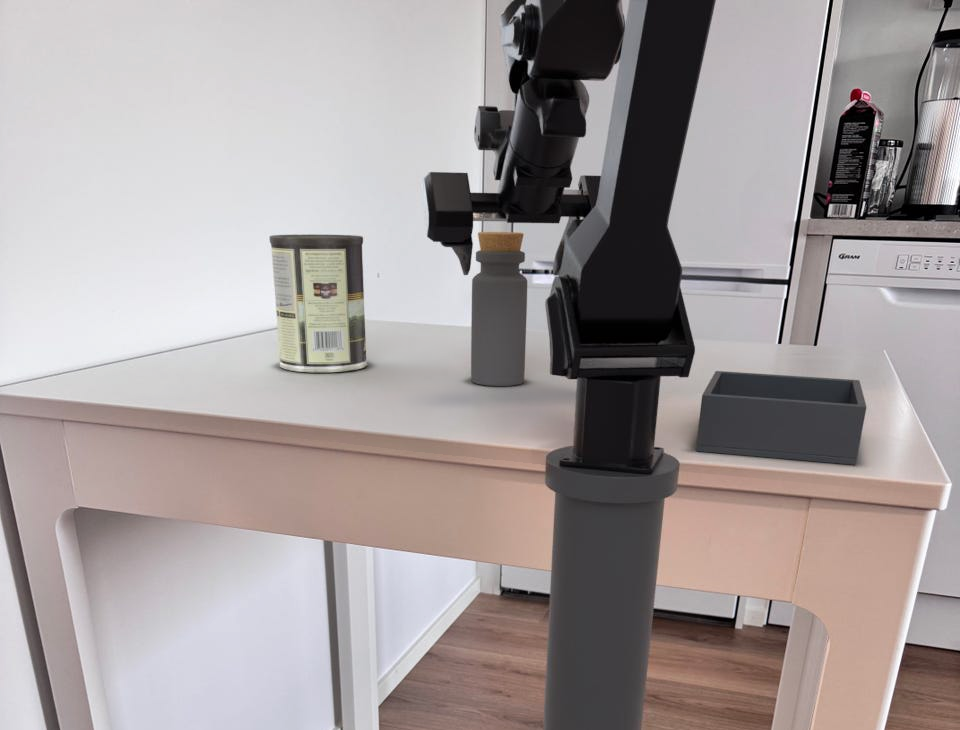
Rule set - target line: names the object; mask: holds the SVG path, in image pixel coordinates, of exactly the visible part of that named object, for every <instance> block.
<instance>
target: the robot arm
mask: <svg viewBox="0 0 960 730" xmlns="http://www.w3.org/2000/svg"><path fill="white" fill-rule="evenodd" d="M716 1H717V0H629V1H628V7H627V12H626V18H625V15H624V9H623V0H512V1H511V2H510V3H509V4H508V6H507V7H505V10H504V11H503V12H502V14H501V16H500V19H499V33H500V38H501V39H500V47H502V51H503V56H504V63H505V67H506V72H507V73H506V74H507V79H508V83H509V87H510V90H511V92H512V93H513V94H517V98H516V104H515V108H514V110H507V109H503V110H502V109H501V110H499V108H498V107H497V106H495V105H494V106H493V105H491V106H490V105H478V106H477V109H476V116H475V120H474V129H473V136H474V137H473V139H474V142H475V145H476V148H477V150H478V151H492V152H493V153H494V154H495V158H494V164H493V167H492V168H493V169H492V170H493V177H494V181H499V184H498V188H497V192H471V186H470V181H469V173H468V172H449V171H448V172H445V171H444V172H443V171H439V172H438V171H428V172H427V174H426V175H425V176H424V177H423V178H422V185H421V200H422V207H423V216H424V222H425V230H426V231H425V232H426V237H427V238H428V239H429V240H431V241H432V242H434V243H440V245H441V246H442V247H444V248H451V249H452V251H453V252H454V254H455V255H456V257H457V258H458V261H459V265H460V267H461V270H462V271H461V272H462V274H463V276H468V275H469V273H470V271H471V265H472V255H473V247H474V246H473V245H474V243H473V236H472V235H473V230H474V222H506V223H507V224H560V223H561V219H562V218H565V217H566V218H567V219H568V220H567V223H566V226H565V228H564V231H563V233H562V236H561V238H560V241H559V244H558V247H557V249H556V252H555V255H554V258H553V263H552V271H553V272H552V273H553V276H555V277H554V279H553V281H552V283H551V286H550V287H551V288H550V292H549V295H548V297H547V298H546V299H545V302H544V303H545V304H544V307H545V313H546V322H547V330H548V338H549V357H550V360H549V361H550V362H549V374H550V375H551V376H558V377H564V378H566V379H568V380H576V391H575V404H574V405H575V406H574V423H573V424H574V425H573V440H572V445H571V446H572V447H571V448H570V449H569V450H568V451H567V452H566V453H565V454H564V455H563V456H562V457H561V458H560V459H559V466H562V467H571V468H581V469H592V470H602V471H613V472H623V473H634V474H645V475H648V474H652V473H653V471H654V470H655V468H656V466H657V464H658V463H659V461H660V459H661V458H662V456H663V452H664V450H665V449H664V447H659V446H655V443H656V431H657V430H656V429H657V422H658V421H657V420H658V410H659V409H658V408H659V398H660V387H661V379H662V378H661V377H678V378H689V376H690V372H691V369H692V365H693V362H694V357H695V354H696V353H695V352H696V345H695V342H694V338H693V334H692V329H691V326H690V321H689V317H688V312H687V308H686V304H685V301H684V296H683V292H682V288H681V281H682V276H683V267H682V264H681V261H680V259H679V255H678V253H677V249H676V247H675V244H674V242H673V238H672V236H671V232H670V230H669V219H670V214H671V210H672V205H673V201H674V196H675V190H676V185H677V182H678V177H679V172H680V168H681V164H682V159H683V154H684V150H685V144H686V140H687V136H688V130H689V126H690V122H691V117H692V112H693V107H694V104H695V99H696V94H697V89H698V84H699V79H700V75H701V71H702V67H703V63H704V62H703V61H704V57H705V52H706V48H707V44H708V43H707V42H708V38H709V34H710V29H711V24H712V19H713V16H714V10H715V5H716ZM617 64H618V68H617V75H616V80H615V87H614V92H613V93H614V94H613V100H612V106H611V112H610V117H609V124H608V131H607V137H606V142H605V148H604V156H603V161H602V167H601V173H600V175H585V174H584V175H580V176H579V180H578V182H577V187H578V189H569V188H571V185H572V181H573V174H572V173H573V172H572V169H571V167H572V164H573V160H574V157H575V155H576V154H575V153H576V150H577V147H578V143H579V140H580V138H585V137H586V135H587V119H586V116H587V112H588V109H589V106H590V105H589V104H590V95H589V92H588V89H587V86H586V85H585V84H584V82H582V81H591V82H592V81H593V82H599V81H601V82H604V81H606V79H607V78H608V77H609V76H610V75H611V73H612V71H613V68H614V66H616V65H617ZM566 188H567V189H566ZM664 453H665V452H664Z"/></svg>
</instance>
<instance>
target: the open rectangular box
mask: <svg viewBox="0 0 960 730" xmlns="http://www.w3.org/2000/svg"><path fill="white" fill-rule="evenodd" d="M699 411H700V412H699V420H698V428H697V436H696V446H695V452H701V453H715V454H725V455H734V456H735V455H737V456H746V457H747V456H749V457H758V458H759V457H760V458H771V459H782V460H783V459H784V460H793V461H804V462H805V461H806V462H814V463H815V462H816V463H827V464H838V465H839V464H841V465H849V466H850V465H852V466H856V465H857V461H858V459H857V458H858V455H859V449H860V444H861V439H862V435H863V428H864V423H865V419H866V412H867V403H866V399H865V396H864V392H863V389H862V385H861V380H860V379H848V378H833V377H831V378H830V377H818V376H801V375H785V374H770V373H756V372H755V373H754V372H742V371H741V372H739V371H723V370H715V372H714V373H713V375H712V376H711V378H710V381H709V382H708V384H707V386H706V387H705V390H704V391H703V393H702V394H701V402H700V410H699Z"/></svg>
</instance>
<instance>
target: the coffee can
mask: <svg viewBox="0 0 960 730" xmlns="http://www.w3.org/2000/svg"><path fill="white" fill-rule="evenodd" d="M269 243H270V246H271V248H270V250H271V259H272V273H273V285H274V299H275V311H276V324H277V337H278V351H279V367H280V368H281V369H284V370H287V371H291V372H300V373H309V374H310V373H311V374H313V373H315V374H319V373H321V374H322V373H324V374H325V373H343V372H351V371H357V370H361V369H364V368H366V367H367V366H368V362H367V343H366V342H367V341H366V339H367V338H366V317H365V291H364V289H365V287H364V264H363V263H364V261H363V244H364V237H363V235H353V234H352V235H351V234H275V235H274V234H273V235H269Z"/></svg>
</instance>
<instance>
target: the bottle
mask: <svg viewBox="0 0 960 730" xmlns="http://www.w3.org/2000/svg"><path fill="white" fill-rule="evenodd" d="M477 237H478V242H479V243H478V244H479V248H480V249H479V250H477V251H476V252H475V261H476V262H477V263H480V272H478V273H477V274H475V275H474V276H473V277H472V280H471V324H470V325H471V326H470V327H471V332H470V333H471V334H470V335H471V336H470V337H471V339H470V342H471V343H470V381H471V382H472V383H473V384H476V385H481V386H489V387H510V386H511V387H512V386H517V385H521V384H523V383H524V382H525V370H526V369H525V368H526V344H527V343H526V342H527V341H526V340H527V315H528V311H527V310H528V279H527V277H526V276H525V275H523V274H522V273H521V272H520V264H522V263H525V261H526V253H525V251H521V248H522V243H523V239H524V233H523V232H514V231H479V232H478V233H477Z"/></svg>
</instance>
